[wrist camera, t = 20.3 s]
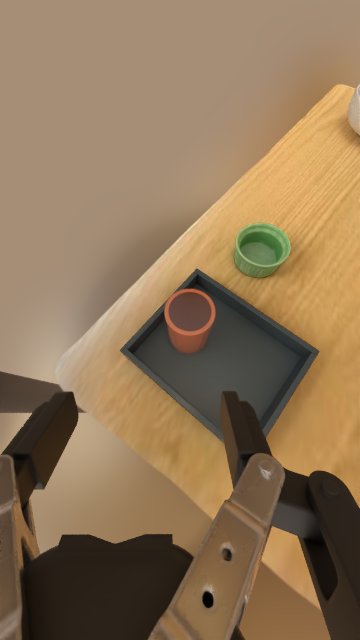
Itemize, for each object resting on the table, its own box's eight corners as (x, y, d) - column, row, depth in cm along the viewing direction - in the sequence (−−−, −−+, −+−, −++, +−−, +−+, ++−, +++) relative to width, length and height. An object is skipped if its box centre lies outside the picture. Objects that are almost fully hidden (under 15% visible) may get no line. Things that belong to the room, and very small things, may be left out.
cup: (191, 362, 35) (194, 345, 26) (160, 336, 36) (153, 314, 28) (216, 331, 36) (225, 307, 28) (185, 309, 38) (186, 279, 30)
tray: (242, 458, 30) (249, 464, 27) (125, 356, 36) (119, 350, 32) (307, 357, 35) (319, 351, 32) (195, 280, 41) (196, 268, 37)
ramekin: (221, 264, 42) (225, 248, 38) (246, 232, 44) (253, 214, 40) (265, 290, 40) (274, 276, 36) (289, 255, 42) (300, 238, 38)
